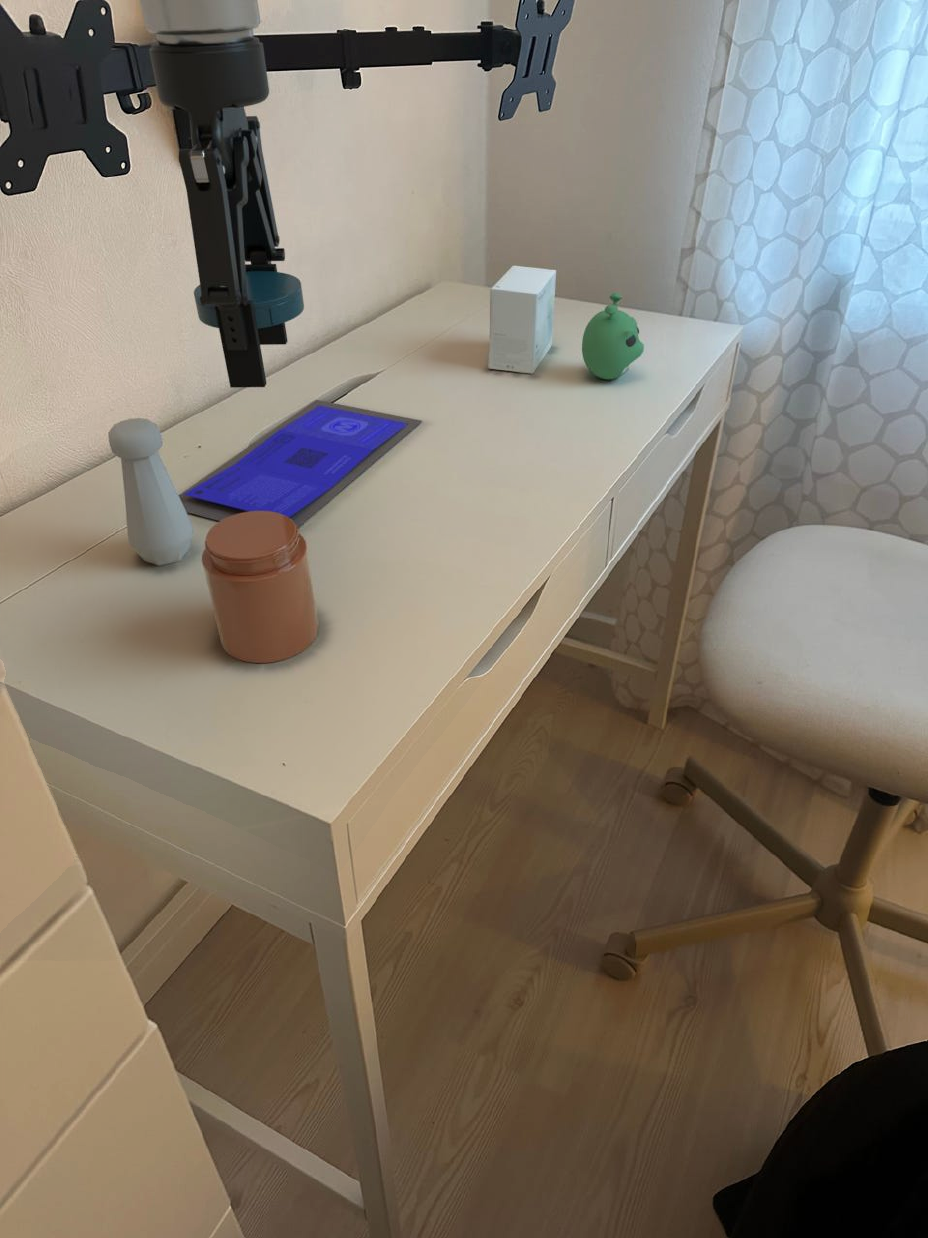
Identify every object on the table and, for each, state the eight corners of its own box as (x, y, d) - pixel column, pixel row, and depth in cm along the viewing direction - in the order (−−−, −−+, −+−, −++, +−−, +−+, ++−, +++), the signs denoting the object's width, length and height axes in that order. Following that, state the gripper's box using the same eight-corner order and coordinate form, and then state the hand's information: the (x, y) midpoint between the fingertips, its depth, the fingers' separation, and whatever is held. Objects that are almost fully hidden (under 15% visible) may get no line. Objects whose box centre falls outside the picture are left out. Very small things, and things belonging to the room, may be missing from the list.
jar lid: (322, 314, 70) (319, 290, 69) (222, 338, 66) (217, 312, 65) (278, 287, 76) (274, 264, 74) (183, 308, 72) (178, 284, 71)
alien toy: (637, 391, 111) (645, 310, 105) (575, 385, 112) (580, 305, 106) (643, 369, 116) (651, 291, 110) (584, 364, 118) (589, 287, 112)
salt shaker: (209, 541, 85) (180, 413, 77) (178, 574, 81) (144, 443, 73) (154, 533, 86) (120, 407, 78) (121, 565, 82) (81, 435, 74)
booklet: (408, 423, 104) (408, 417, 104) (285, 526, 86) (284, 520, 86) (319, 405, 108) (318, 400, 108) (184, 500, 91) (183, 494, 90)
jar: (223, 671, 70) (198, 570, 64) (218, 612, 76) (196, 514, 70) (324, 653, 71) (310, 552, 66) (312, 596, 78) (298, 500, 72)
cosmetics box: (535, 375, 115) (538, 292, 109) (487, 369, 117) (487, 288, 110) (554, 346, 123) (557, 267, 117) (509, 341, 125) (510, 263, 118)
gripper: (191, 23, 68) (244, 319, 82) (93, 55, 52) (179, 419, 66) (289, 20, 68) (325, 317, 82) (221, 52, 51) (281, 418, 65)
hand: (260, 362), depth 74 cm, fingers closed on jar lid, 8 cm apart
